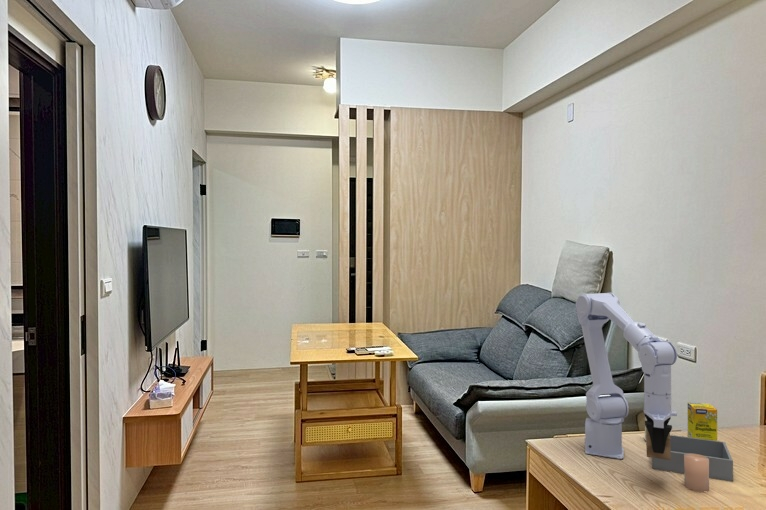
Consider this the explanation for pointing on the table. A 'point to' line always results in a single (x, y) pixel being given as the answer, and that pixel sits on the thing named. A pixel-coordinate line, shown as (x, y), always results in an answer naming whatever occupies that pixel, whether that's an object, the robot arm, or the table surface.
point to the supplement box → (702, 421)
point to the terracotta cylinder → (696, 472)
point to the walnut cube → (665, 455)
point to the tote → (709, 448)
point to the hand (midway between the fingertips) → (658, 448)
